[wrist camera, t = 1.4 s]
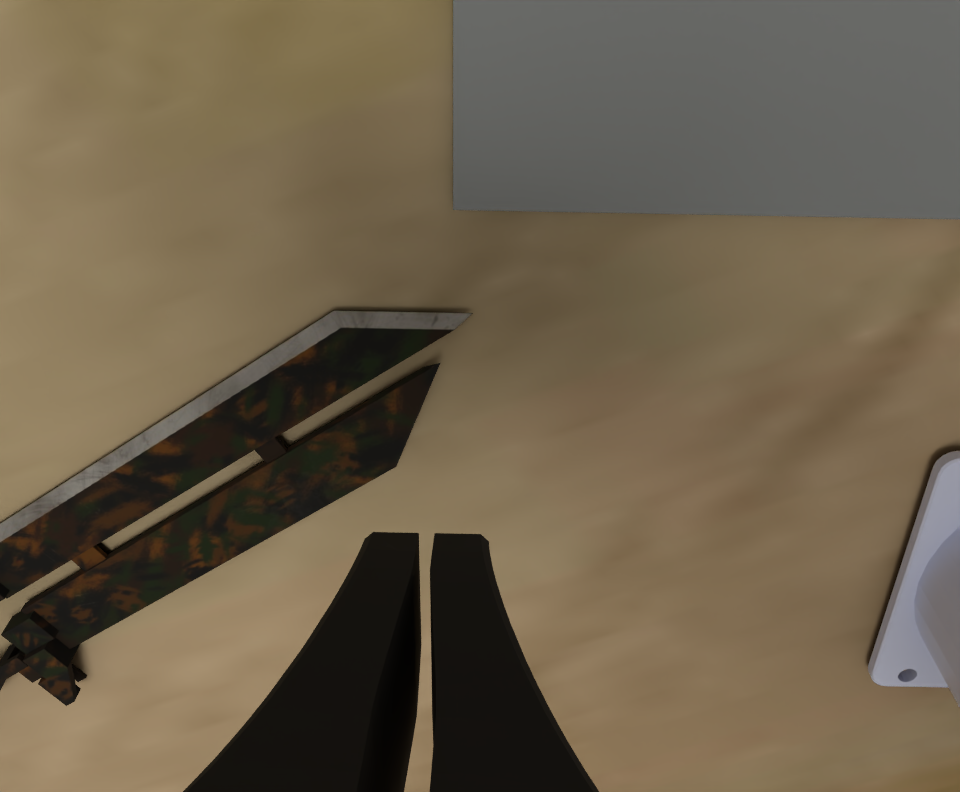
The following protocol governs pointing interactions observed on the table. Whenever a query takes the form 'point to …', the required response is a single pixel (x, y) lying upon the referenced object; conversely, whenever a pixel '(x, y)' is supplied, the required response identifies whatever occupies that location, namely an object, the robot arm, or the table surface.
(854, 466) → the table surface
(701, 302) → the table surface
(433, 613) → the robot arm
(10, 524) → the dark ornate flat tool
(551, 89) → the mat
